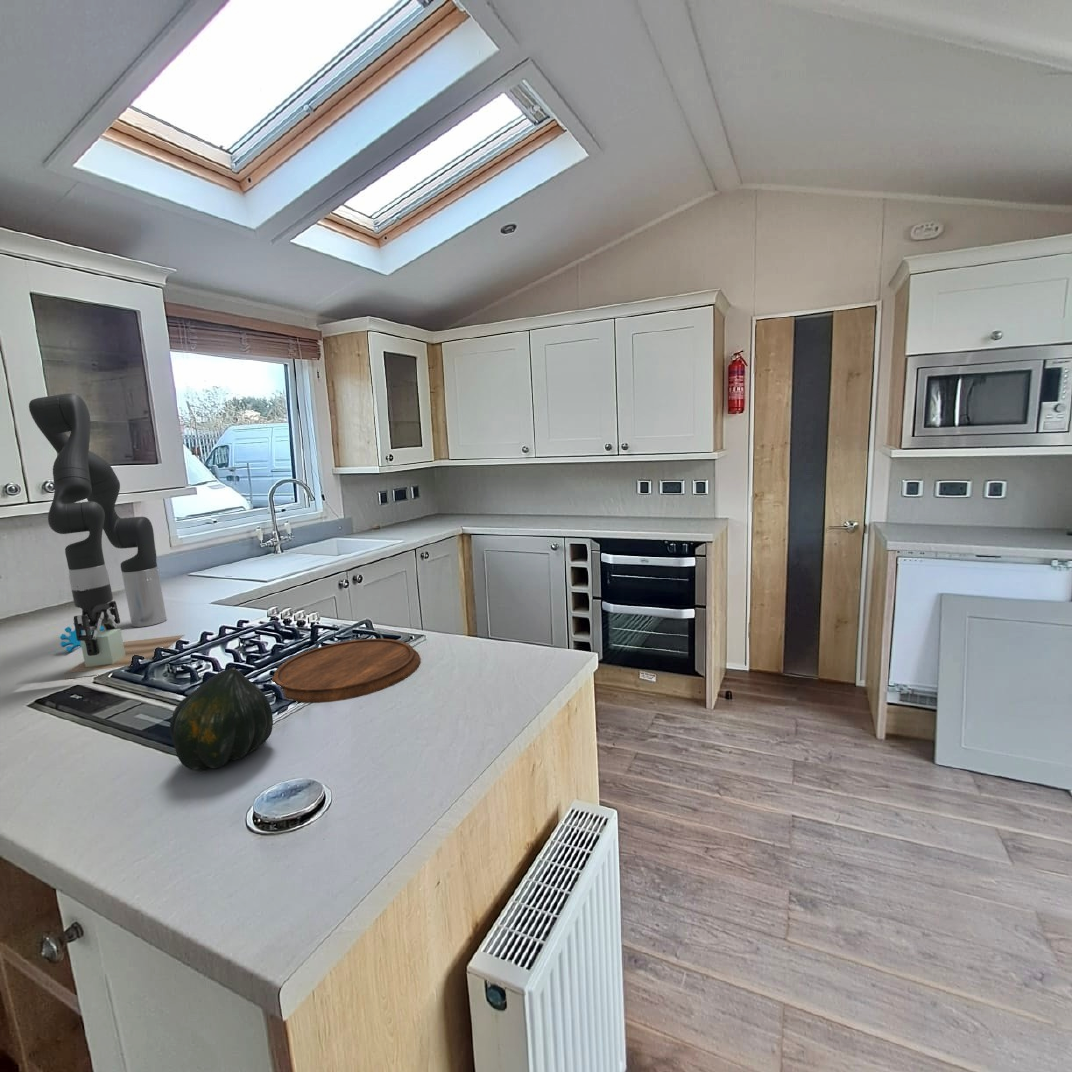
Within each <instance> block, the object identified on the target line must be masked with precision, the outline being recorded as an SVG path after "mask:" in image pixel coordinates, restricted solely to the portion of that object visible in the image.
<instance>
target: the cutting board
mask: <svg viewBox="0 0 1072 1072" xmlns="http://www.w3.org/2000/svg"><path fill="white" fill-rule="evenodd" d="M420 664H421V656H420V654H419V652H418V651H417V650H415V649H414V647H413V646H412V645H410V643H407V642H405V641H402V640H398V639H392V638H364V639H360V638H359V639H351V640H345V641H340V642H336V643H335V642H334V643H332V644H331V643H330V644H327V645H322V646H319V647H316V648H313V649H310V650H307V651H305V652H302V653H300V654H297V655H295V656H293V657H292V658H290V659H288V660H286V661H285V662H283V663H281V665H280V666H278V667H277V668H276V670H275V671H274V674H273V675H274V676H273V675H272V677H271V678H272V681H273V682H275V683H276V684H277V685H280V686H281V687H282V689H283V692H284V696H285V697H286V698H288V699H293V700H295V701H297V702H296V703H307V704H309V703H327V702H336V701H341V700H343V701H344V700H348V699H352V698H358V697H361V696H366V695H368V694H369V695H370V694H372V693H375V692H378V691H381V690H384V689H387V688H389V687H392V686H394V685H396V684H398V683H399V682H401V681H403V680H405V679H407V678H408V677H410V676H411V675H412V674H413V673H414V672H416V670H417V669H418V667H419V666H420Z"/></svg>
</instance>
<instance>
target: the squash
mask: <svg viewBox="0 0 1072 1072" xmlns="http://www.w3.org/2000/svg"><path fill="white" fill-rule="evenodd" d="M273 717H274V716H273V711H272V706H271V704H270V701H269V700H268V698H267V696H266V695H265V693H264V692H263V691H262V690H261V689H260V688H259V687H258V686H257V685H256V684H255V683H254V682H252V681H251V680H250V679H248V678H247V676H245V675H244V674H243V673H242V672H241V671H240V670H238V669H236V668H235V667H233V668H228V669H224V670H222V671H220V672H218V673H217V674H214V675H213V676H211V677H210V678H209V679H207V680H206V681H205V682H203V683H202V684H200V686H198V687H197V688H196V689H194V690H193V692H191V693H190V694H189V695H187V696H185V697H184V698H183V699H182V700H181V701H180V702H179V704H178V705H176V707H175V708H174V710H173V713H172V715H171V719H170V722H169V723H170V724H169V733H170V739H171V742H172V743H173V746H174V747H173V748H175V752H176V753H175V754H176V756H177V758H178V761H179V762H180V763H181V764H182V765H183V766H184V767H185V768H186V769H188V770H191V771H201V770H205V769H207V768H210V769H219V768H221V767H223V766H224V765H226V764H227V763H228V762H229V761H230V759H231V760H233V761H235V760H240V759H242V758H244V757H245V756H246V755H247V754H249V753H251V752H252V751H255V749H257V748H259V747H261V746H263V745H264V743H266V742H267V740H268V739H269V738H270V736H271V735H272V731H273V726H274V725H273V724H274V718H273Z"/></svg>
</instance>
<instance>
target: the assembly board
mask: <svg viewBox="0 0 1072 1072" xmlns="http://www.w3.org/2000/svg"><path fill="white" fill-rule="evenodd" d="M184 636H185V634H182V635H172V636H164V637H154V638H147V639H140V640H139V639H138V640H130V641H123V644H124V649H125V656H124V657H122V658H121V659H119V660H118V661H116V662H115V663H113V664H107V665H98V666H90V667H86V666H85V661H84V660H83V661H82V662H80V663H79V664H77V665H76V666H73V667H72V668H71V669H69V670H67V671H66V672H64V674H73V673H80V672H90V671H97V670H104V669H106V670H107V669H113V668H121V667H130V664H131V661H132V656H134V655H139V656H143V657H144V658H145V659H152V657H153V656H154V650H155V649H156V648H157V647H163V648H164V649H166V650H167V649H168V648H170V647H171V646H173V645H174V644H175V643H176V642H178V641H179V640H180V639H182V638H183V637H184ZM97 675H98V674H94V675H84V676H77V677H76V676H75V677H70V678H69V677H68V678H65V679H64V680H71V679H73V680H74V679H80V678H81V679H82V678H89V677H96V676H97Z"/></svg>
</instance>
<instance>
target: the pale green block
mask: <svg viewBox="0 0 1072 1072" xmlns="http://www.w3.org/2000/svg"><path fill="white" fill-rule="evenodd" d="M121 630H122V629H121V628H116V629H113V630H106V629H104V631H98V632H97V636H96V639H97V643H98V648H99V654H97V655H93V656H89V655H88V654H87V649H86V644H85V641H80V642H81V647H80V648H81V651H82V656H83V662H84V661H85V666H86V667H90V666H98V665H107V664H113V663H115V662H116V661H118V660H119V659H121V658H122V657H124V656H125V649H124V644H123V642H124V640H123V635H122V631H121ZM91 635H92V633H91Z"/></svg>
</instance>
